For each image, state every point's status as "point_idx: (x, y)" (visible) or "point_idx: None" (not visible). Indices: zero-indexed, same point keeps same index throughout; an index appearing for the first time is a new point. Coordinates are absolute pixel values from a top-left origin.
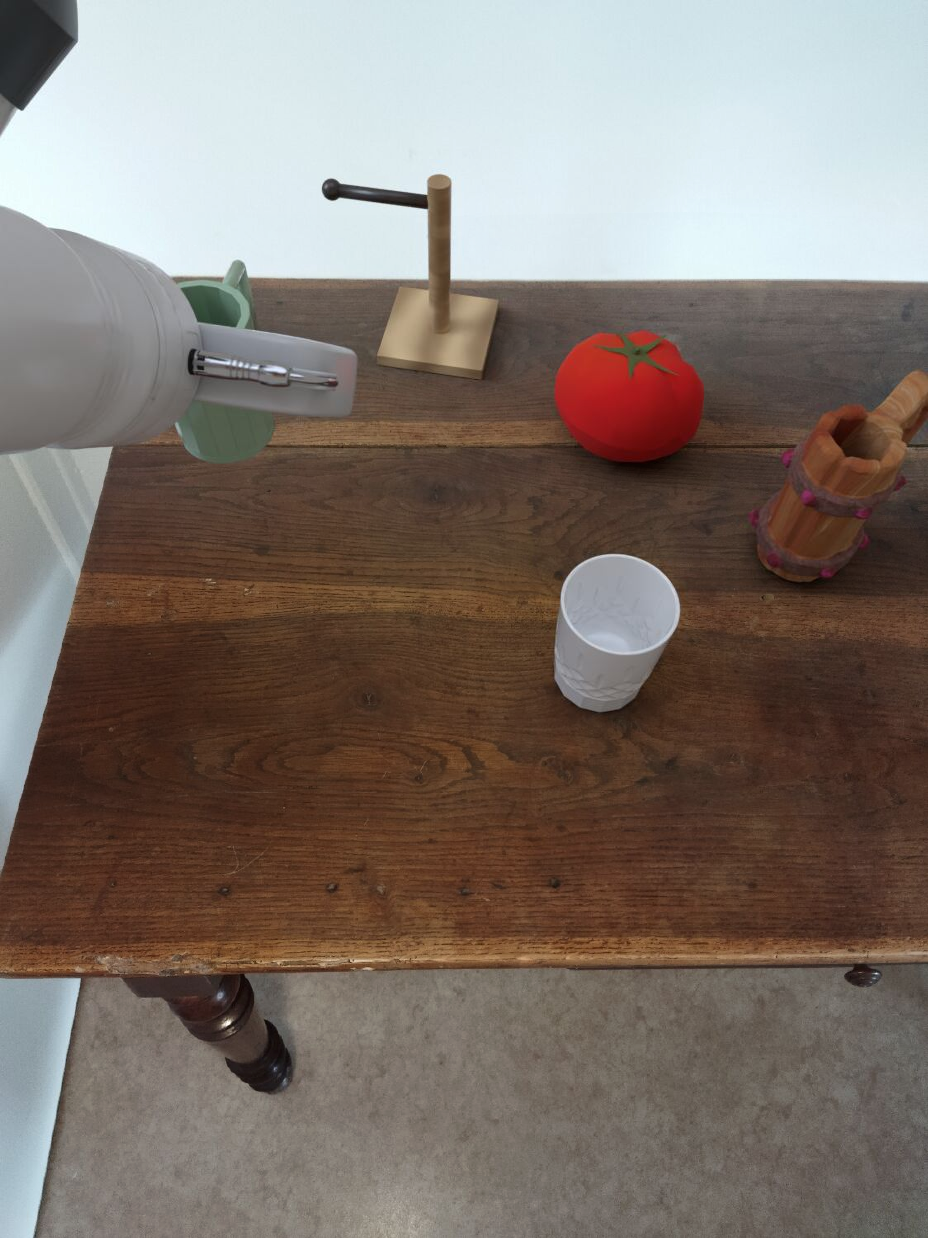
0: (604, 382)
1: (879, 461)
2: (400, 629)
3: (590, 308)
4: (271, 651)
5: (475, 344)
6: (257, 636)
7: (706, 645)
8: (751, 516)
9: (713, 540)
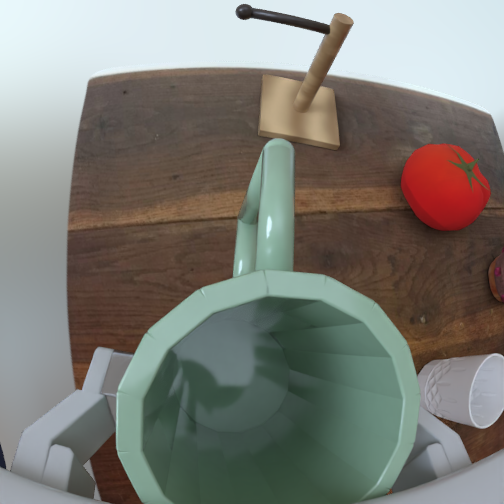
0: (457, 191)
1: None
2: None
3: (382, 100)
4: None
5: (329, 123)
6: None
7: (473, 350)
8: (497, 271)
9: (472, 277)
